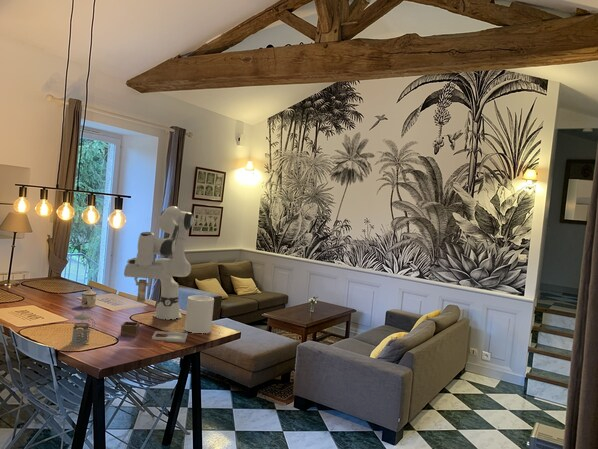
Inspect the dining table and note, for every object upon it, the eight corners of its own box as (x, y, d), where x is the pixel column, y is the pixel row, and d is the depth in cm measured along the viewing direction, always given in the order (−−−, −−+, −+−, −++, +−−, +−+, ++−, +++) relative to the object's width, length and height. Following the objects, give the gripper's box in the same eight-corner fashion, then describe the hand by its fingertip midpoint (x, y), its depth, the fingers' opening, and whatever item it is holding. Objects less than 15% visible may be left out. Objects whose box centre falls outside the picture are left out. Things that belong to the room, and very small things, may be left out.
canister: (190, 325, 279) (193, 294, 278) (214, 328, 277) (217, 297, 277) (180, 331, 263) (183, 298, 262) (206, 335, 261) (209, 302, 261)
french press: (65, 342, 224) (69, 294, 223) (87, 338, 234) (91, 292, 233) (76, 347, 218) (80, 297, 218) (97, 343, 228) (102, 295, 227)
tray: (155, 334, 253) (155, 331, 253) (187, 336, 255) (187, 332, 255) (151, 340, 241) (151, 337, 241) (185, 342, 244) (185, 339, 244)
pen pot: (123, 333, 248) (124, 321, 248) (138, 334, 249) (139, 322, 249) (120, 337, 240) (121, 325, 240) (135, 338, 241) (136, 326, 241)
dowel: (138, 300, 247) (139, 279, 246) (145, 300, 247) (147, 279, 247) (136, 301, 243) (138, 280, 242) (143, 302, 243) (145, 280, 243)
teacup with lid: (78, 305, 298) (79, 288, 298) (90, 304, 306) (92, 287, 306) (87, 309, 292) (89, 292, 292) (100, 307, 299) (102, 290, 299)
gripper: (164, 262, 249) (162, 286, 249) (127, 258, 246) (125, 283, 247) (162, 263, 243) (160, 288, 243) (124, 260, 240) (122, 285, 240)
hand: (142, 285), depth 245 cm, fingers closed on dowel, 4 cm apart
